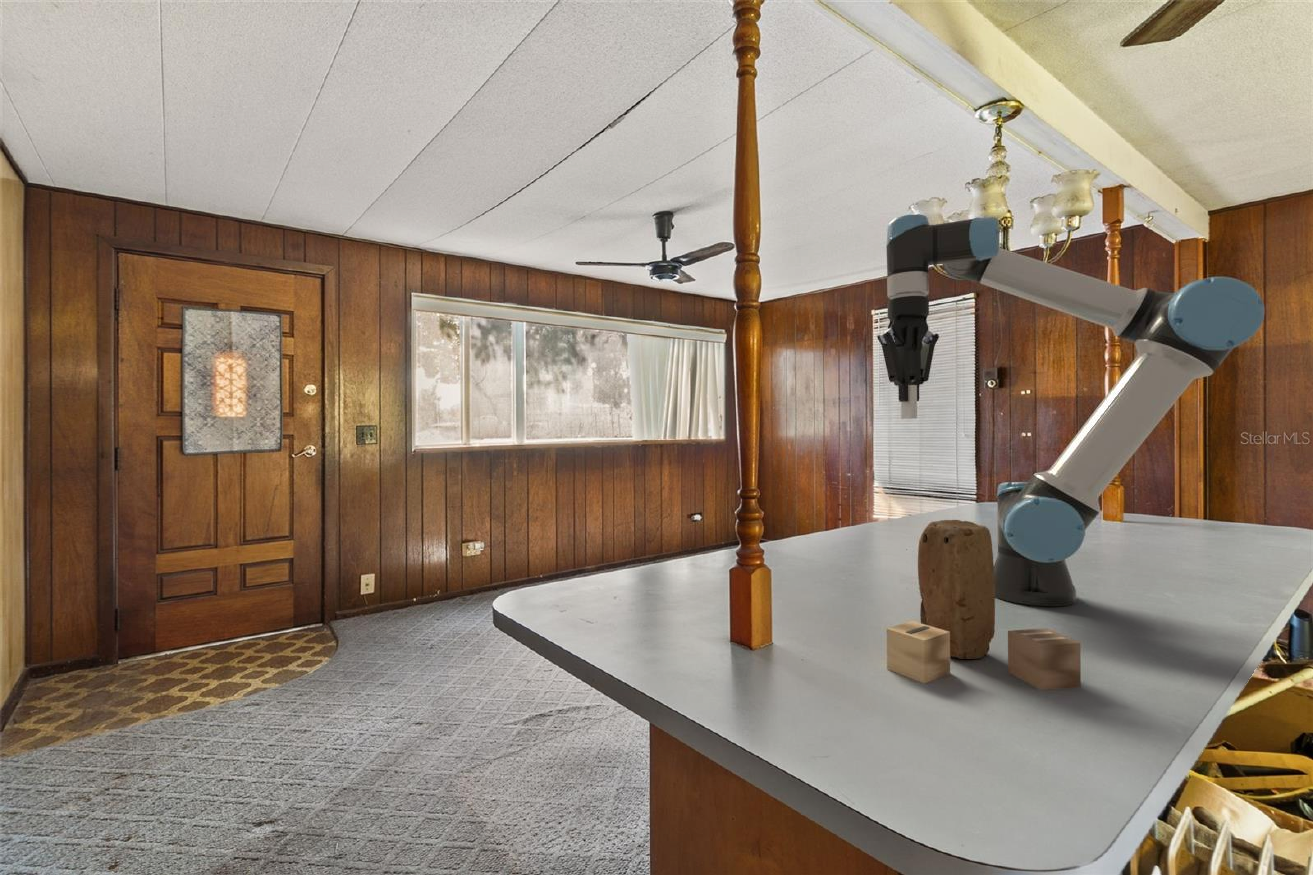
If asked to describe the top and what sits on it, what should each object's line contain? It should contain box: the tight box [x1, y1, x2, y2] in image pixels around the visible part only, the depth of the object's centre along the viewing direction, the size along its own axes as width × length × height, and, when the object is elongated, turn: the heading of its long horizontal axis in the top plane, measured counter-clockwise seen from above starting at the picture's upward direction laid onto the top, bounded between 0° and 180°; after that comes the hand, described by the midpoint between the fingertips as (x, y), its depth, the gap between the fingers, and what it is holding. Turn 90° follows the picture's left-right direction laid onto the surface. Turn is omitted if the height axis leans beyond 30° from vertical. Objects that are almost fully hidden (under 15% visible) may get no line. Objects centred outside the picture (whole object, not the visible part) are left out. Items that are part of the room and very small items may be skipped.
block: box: [917, 519, 996, 660], centre depth 96 cm, size 11×8×20 cm
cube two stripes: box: [1007, 627, 1082, 691], centre depth 84 cm, size 6×6×6 cm
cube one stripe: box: [886, 620, 951, 684], centre depth 88 cm, size 6×6×6 cm
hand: (909, 418), depth 120 cm, fingers closed
